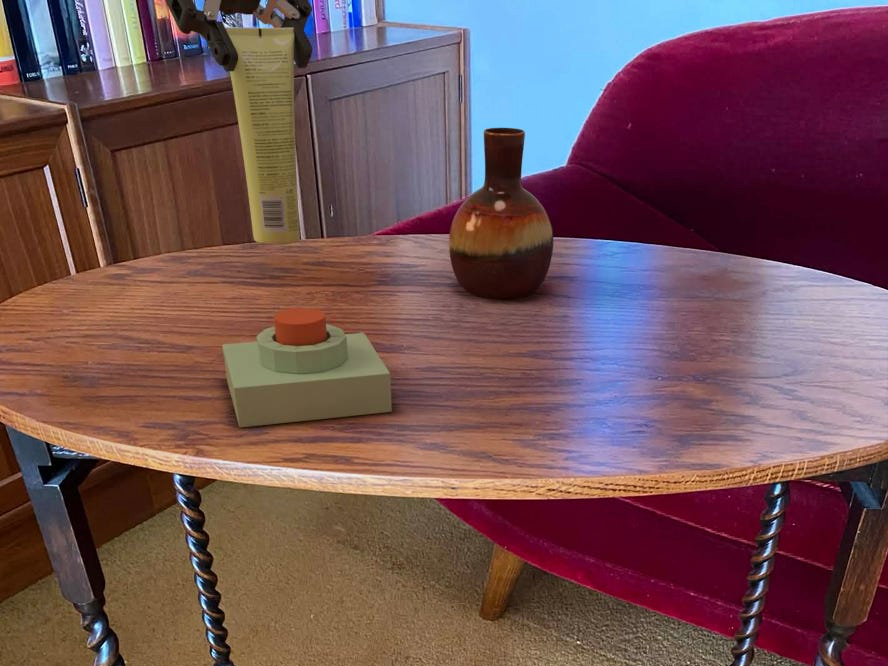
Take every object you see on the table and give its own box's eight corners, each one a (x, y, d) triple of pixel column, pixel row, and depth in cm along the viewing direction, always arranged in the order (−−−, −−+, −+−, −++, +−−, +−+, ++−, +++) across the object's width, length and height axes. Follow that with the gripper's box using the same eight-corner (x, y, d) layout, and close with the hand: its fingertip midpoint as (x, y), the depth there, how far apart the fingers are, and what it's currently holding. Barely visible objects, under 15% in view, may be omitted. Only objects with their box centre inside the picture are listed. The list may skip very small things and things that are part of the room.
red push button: (280, 351, 74) (277, 325, 73) (273, 335, 78) (270, 309, 76) (331, 347, 75) (329, 321, 74) (322, 331, 79) (320, 306, 77)
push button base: (239, 427, 74) (230, 364, 71) (227, 381, 82) (218, 322, 79) (391, 412, 77) (389, 350, 74) (366, 368, 84) (363, 311, 82)
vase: (524, 310, 99) (531, 143, 90) (430, 294, 103) (428, 132, 94) (566, 284, 107) (577, 128, 98) (477, 270, 111) (480, 119, 102)
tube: (266, 232, 106) (245, 23, 95) (310, 236, 106) (294, 25, 94) (245, 244, 102) (221, 27, 90) (290, 248, 101) (271, 29, 90)
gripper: (132, -126, 86) (213, 35, 86) (270, -117, 94) (345, 31, 94) (118, -55, 93) (194, 96, 92) (249, -51, 100) (319, 88, 100)
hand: (270, 63), depth 93 cm, fingers closed on tube, 7 cm apart
